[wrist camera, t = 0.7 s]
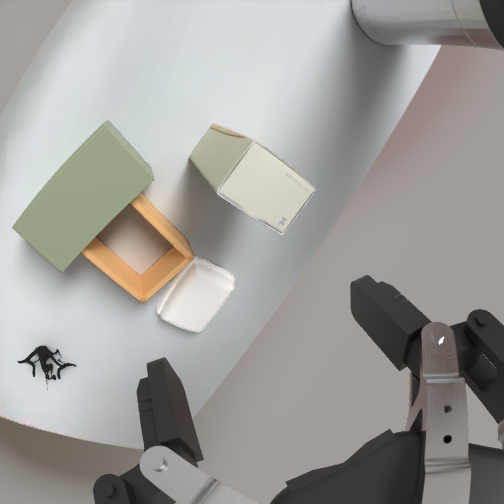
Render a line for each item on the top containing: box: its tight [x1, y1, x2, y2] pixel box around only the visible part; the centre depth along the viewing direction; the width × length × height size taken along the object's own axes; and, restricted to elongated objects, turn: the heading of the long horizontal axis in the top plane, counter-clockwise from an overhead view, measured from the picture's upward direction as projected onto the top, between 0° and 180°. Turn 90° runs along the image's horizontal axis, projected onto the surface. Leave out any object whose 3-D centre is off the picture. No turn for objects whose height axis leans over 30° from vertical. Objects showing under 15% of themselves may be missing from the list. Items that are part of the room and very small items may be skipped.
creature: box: [18, 346, 76, 391], centre depth 32 cm, size 8×5×8 cm
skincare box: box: [189, 124, 316, 235], centre depth 26 cm, size 6×4×12 cm
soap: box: [156, 256, 235, 333], centre depth 36 cm, size 9×7×3 cm
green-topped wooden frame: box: [12, 120, 195, 303], centre depth 27 cm, size 12×15×5 cm
